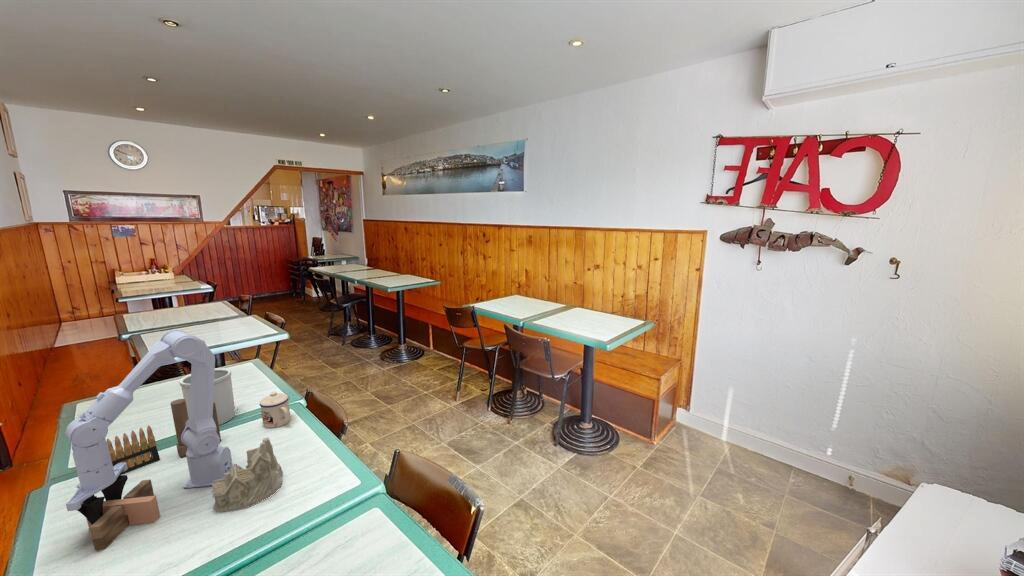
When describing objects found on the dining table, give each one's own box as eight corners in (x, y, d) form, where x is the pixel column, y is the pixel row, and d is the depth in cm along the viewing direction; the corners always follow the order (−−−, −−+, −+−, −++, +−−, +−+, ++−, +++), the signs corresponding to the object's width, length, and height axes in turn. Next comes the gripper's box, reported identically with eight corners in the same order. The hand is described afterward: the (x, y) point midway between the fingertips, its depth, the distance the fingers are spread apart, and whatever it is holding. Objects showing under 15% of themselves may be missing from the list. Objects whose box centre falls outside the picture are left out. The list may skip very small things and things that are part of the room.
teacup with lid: (257, 424, 142) (253, 394, 139) (282, 413, 149) (278, 385, 147) (275, 433, 136) (271, 402, 133) (301, 421, 143) (297, 392, 141)
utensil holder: (198, 412, 150) (190, 370, 147) (243, 407, 154) (236, 365, 151) (179, 433, 136) (170, 386, 133) (228, 426, 141) (221, 380, 137)
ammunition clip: (112, 478, 113) (103, 441, 111) (110, 476, 114) (102, 438, 112) (160, 460, 122) (153, 424, 119) (158, 457, 123) (151, 422, 120)
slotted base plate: (146, 500, 105) (142, 480, 104) (154, 499, 105) (150, 479, 104) (94, 550, 89) (89, 527, 88) (104, 548, 90) (99, 526, 88)
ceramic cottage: (287, 463, 119) (277, 420, 116) (279, 501, 105) (267, 453, 101) (226, 480, 114) (214, 435, 110) (209, 522, 99) (194, 472, 95)
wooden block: (221, 441, 131) (213, 391, 128) (181, 458, 123) (171, 405, 119) (217, 438, 133) (209, 389, 130) (177, 454, 125) (167, 402, 121)
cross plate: (160, 516, 99) (156, 495, 98) (154, 522, 97) (150, 501, 96) (96, 523, 97) (91, 502, 96) (89, 529, 95) (83, 508, 94)
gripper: (100, 449, 100) (111, 495, 102) (44, 488, 86) (58, 541, 88) (132, 446, 101) (142, 492, 103) (82, 484, 87) (95, 536, 89)
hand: (106, 514), depth 96 cm, fingers open, 5 cm apart
